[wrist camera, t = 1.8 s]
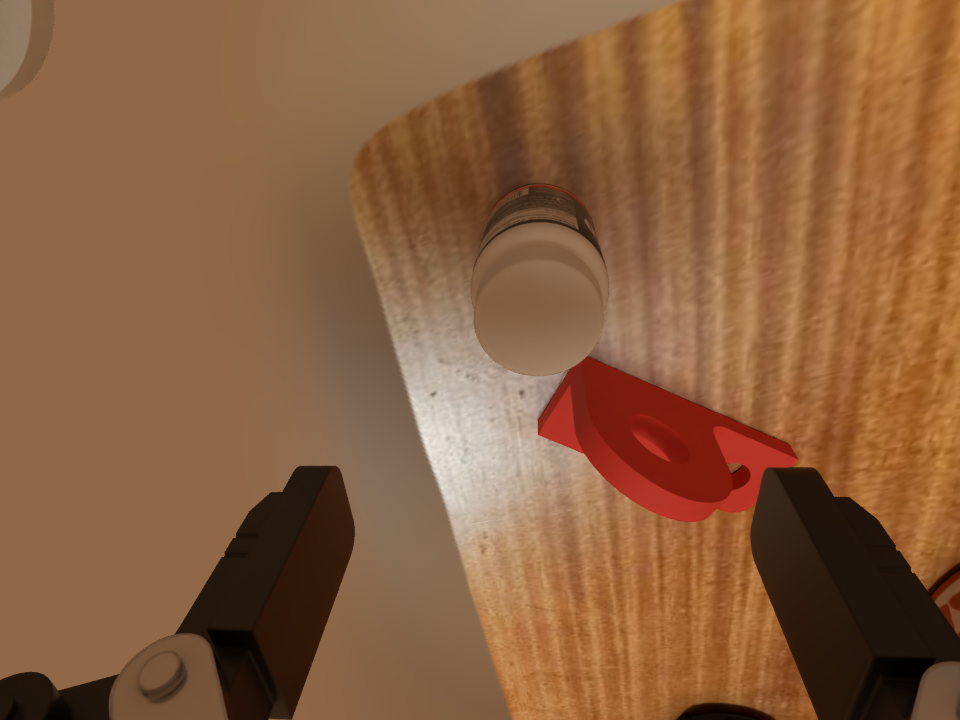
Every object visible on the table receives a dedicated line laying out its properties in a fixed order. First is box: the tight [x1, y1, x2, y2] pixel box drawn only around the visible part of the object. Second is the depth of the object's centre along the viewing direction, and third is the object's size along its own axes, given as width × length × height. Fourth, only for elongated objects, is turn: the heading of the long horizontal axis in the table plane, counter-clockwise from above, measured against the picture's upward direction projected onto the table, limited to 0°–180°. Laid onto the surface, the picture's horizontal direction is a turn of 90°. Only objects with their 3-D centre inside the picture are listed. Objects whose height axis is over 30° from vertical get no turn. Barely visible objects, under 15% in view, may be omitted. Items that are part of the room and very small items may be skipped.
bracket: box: [538, 357, 799, 522], centre depth 26 cm, size 12×4×8 cm, turn 66°
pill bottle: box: [471, 184, 609, 376], centre depth 21 cm, size 5×5×8 cm
